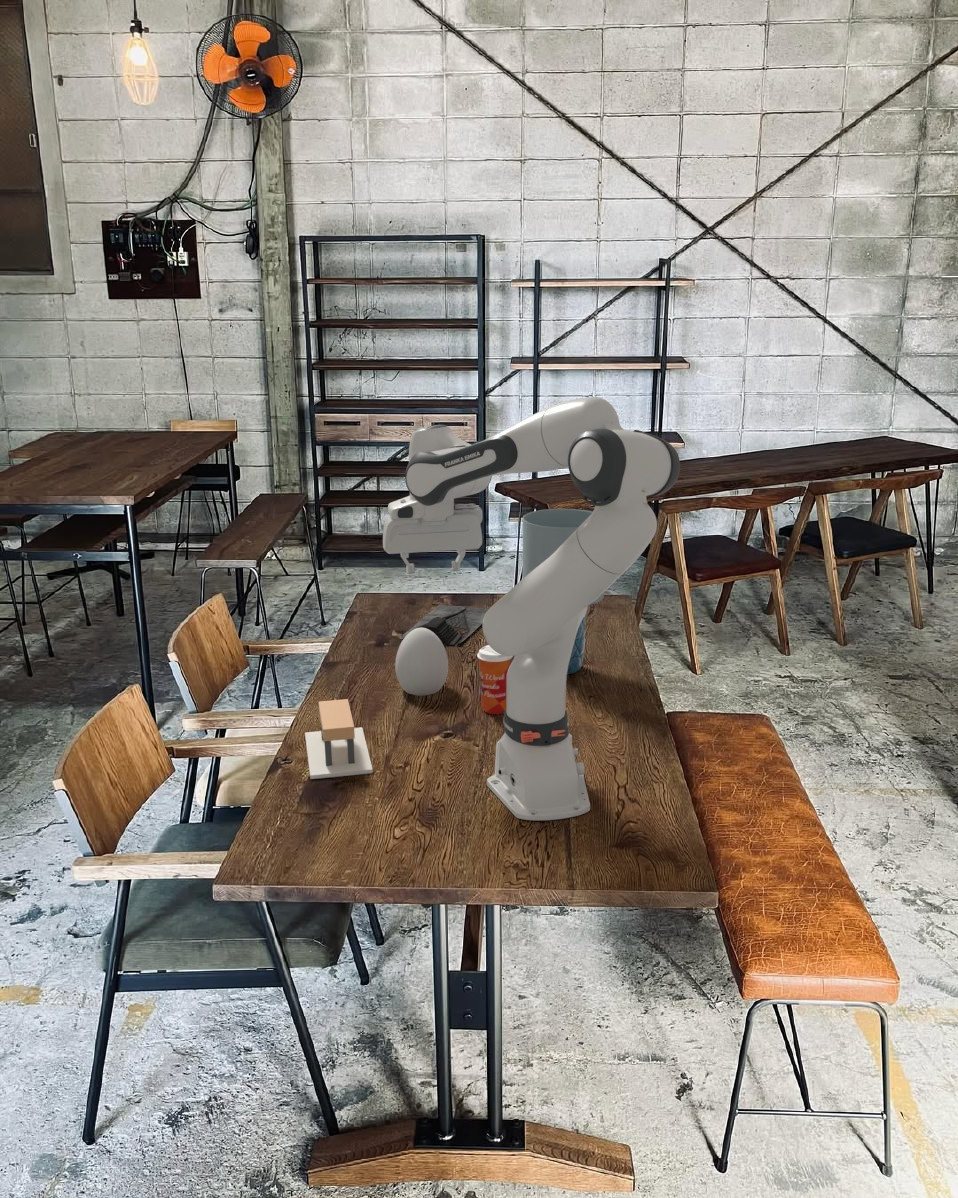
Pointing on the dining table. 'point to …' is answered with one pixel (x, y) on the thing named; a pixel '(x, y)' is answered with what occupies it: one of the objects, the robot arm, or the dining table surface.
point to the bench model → (336, 726)
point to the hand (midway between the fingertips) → (433, 571)
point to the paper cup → (493, 679)
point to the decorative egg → (421, 663)
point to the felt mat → (337, 756)
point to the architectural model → (451, 622)
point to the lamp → (541, 541)
